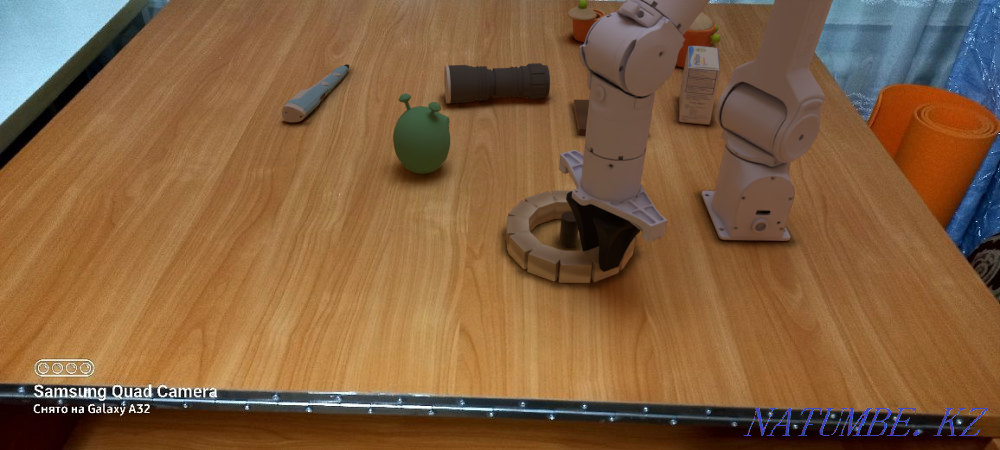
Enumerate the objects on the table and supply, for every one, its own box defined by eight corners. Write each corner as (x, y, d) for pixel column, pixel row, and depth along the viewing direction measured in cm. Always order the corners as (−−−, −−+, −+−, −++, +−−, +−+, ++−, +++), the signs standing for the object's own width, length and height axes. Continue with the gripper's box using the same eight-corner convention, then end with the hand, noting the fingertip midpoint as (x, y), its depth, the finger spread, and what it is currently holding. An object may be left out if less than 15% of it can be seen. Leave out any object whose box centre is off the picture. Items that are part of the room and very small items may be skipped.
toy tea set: (712, 37, 132) (723, -17, 127) (724, 73, 120) (736, 15, 114) (566, 28, 134) (570, -25, 129) (562, 63, 122) (567, 5, 116)
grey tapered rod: (302, 126, 102) (299, 107, 100) (281, 123, 103) (278, 104, 101) (357, 70, 117) (355, 53, 116) (338, 68, 118) (336, 51, 116)
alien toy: (463, 161, 95) (462, 90, 90) (433, 190, 90) (430, 116, 84) (416, 148, 98) (413, 78, 92) (384, 175, 92) (378, 103, 86)
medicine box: (709, 126, 105) (721, 69, 100) (677, 122, 106) (687, 65, 101) (708, 102, 111) (719, 47, 106) (678, 98, 112) (687, 44, 107)
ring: (641, 284, 76) (644, 265, 75) (507, 282, 76) (508, 264, 75) (622, 208, 88) (624, 191, 86) (505, 206, 87) (506, 189, 86)
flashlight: (544, 88, 114) (546, 55, 110) (551, 104, 109) (554, 70, 106) (444, 93, 111) (443, 59, 108) (448, 109, 107) (447, 75, 104)
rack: (643, 136, 102) (650, 93, 98) (578, 135, 102) (583, 91, 98) (633, 106, 109) (639, 65, 106) (573, 105, 109) (576, 64, 105)
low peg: (577, 247, 81) (580, 221, 79) (559, 247, 81) (562, 221, 79) (576, 236, 83) (578, 211, 81) (558, 236, 83) (560, 210, 81)
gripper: (537, 122, 72) (530, 233, 80) (630, 194, 62) (612, 313, 70) (595, 106, 75) (583, 215, 83) (693, 173, 65) (669, 290, 73)
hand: (600, 259), depth 77 cm, fingers closed on ring, 2 cm apart
